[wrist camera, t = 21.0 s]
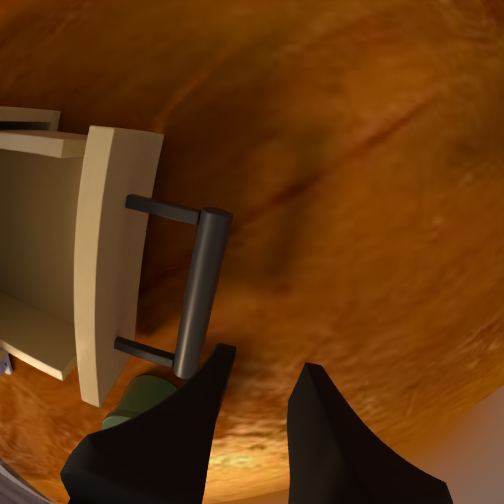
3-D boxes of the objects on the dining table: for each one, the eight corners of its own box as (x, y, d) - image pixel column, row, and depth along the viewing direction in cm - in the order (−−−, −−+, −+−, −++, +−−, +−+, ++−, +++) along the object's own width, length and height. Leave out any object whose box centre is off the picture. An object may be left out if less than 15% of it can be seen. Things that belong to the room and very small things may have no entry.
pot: (185, 426, 23) (171, 471, 19) (125, 407, 23) (104, 448, 19) (193, 384, 22) (177, 432, 17) (125, 362, 22) (98, 405, 17)
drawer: (253, 153, 16) (243, 152, 10) (201, 373, 20) (182, 436, 15) (3, 116, 16) (-56, 117, 10) (-2, 295, 20) (-46, 325, 14)
